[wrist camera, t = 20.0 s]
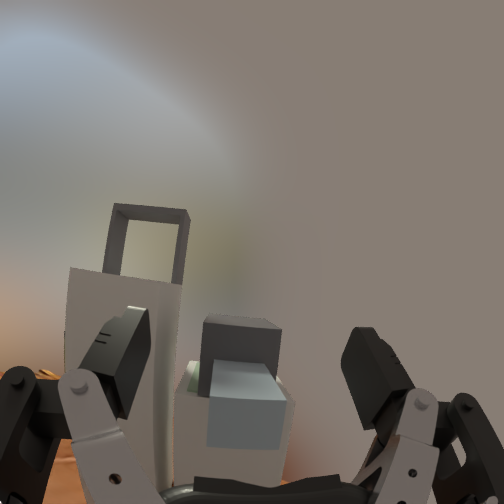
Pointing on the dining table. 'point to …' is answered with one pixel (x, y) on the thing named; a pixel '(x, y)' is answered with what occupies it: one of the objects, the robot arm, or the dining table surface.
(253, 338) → the plug
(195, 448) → the grey stepped fixture
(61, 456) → the dining table surface
